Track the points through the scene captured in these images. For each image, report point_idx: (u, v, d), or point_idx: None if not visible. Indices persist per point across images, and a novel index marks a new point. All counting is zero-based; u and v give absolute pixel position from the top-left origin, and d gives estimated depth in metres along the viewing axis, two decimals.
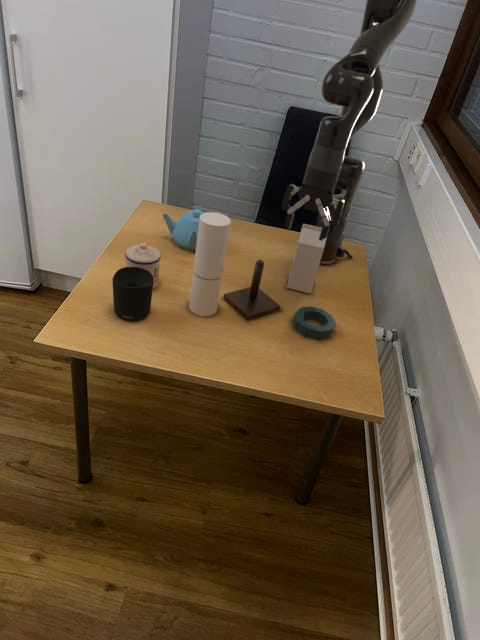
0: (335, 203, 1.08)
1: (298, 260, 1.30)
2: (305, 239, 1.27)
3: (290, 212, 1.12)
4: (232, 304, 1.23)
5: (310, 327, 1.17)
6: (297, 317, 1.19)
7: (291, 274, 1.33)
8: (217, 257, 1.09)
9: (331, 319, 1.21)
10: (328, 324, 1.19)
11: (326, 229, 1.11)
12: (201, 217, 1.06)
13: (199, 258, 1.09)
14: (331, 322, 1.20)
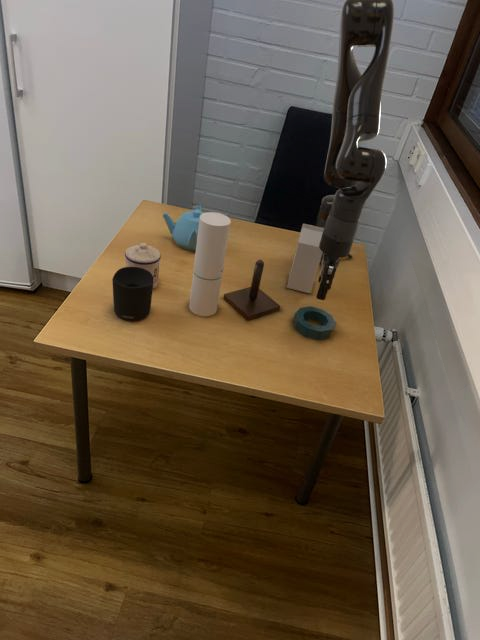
0: None
1: (298, 260, 1.30)
2: (305, 239, 1.27)
3: None
4: (232, 304, 1.23)
5: (310, 327, 1.17)
6: (297, 317, 1.19)
7: (291, 274, 1.33)
8: (217, 257, 1.09)
9: (331, 319, 1.21)
10: (328, 324, 1.19)
11: None
12: (201, 217, 1.06)
13: (199, 258, 1.09)
14: (331, 322, 1.20)
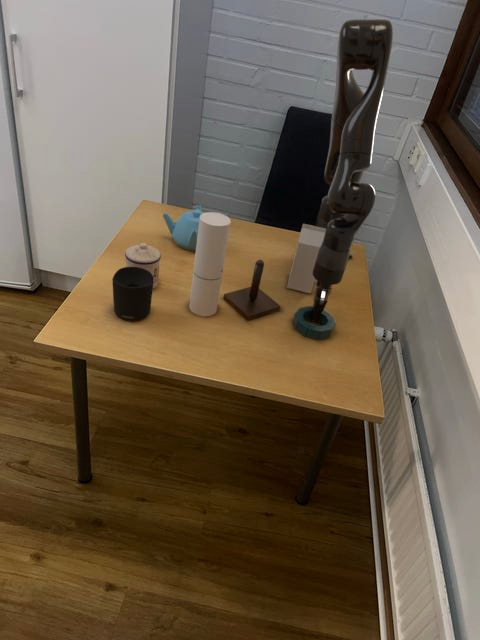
0: None
1: (298, 260, 1.30)
2: (305, 239, 1.27)
3: None
4: (232, 304, 1.23)
5: (310, 327, 1.17)
6: (297, 317, 1.19)
7: (291, 274, 1.33)
8: (217, 257, 1.09)
9: (331, 319, 1.21)
10: (328, 324, 1.19)
11: None
12: (201, 217, 1.06)
13: (199, 258, 1.09)
14: (331, 322, 1.20)
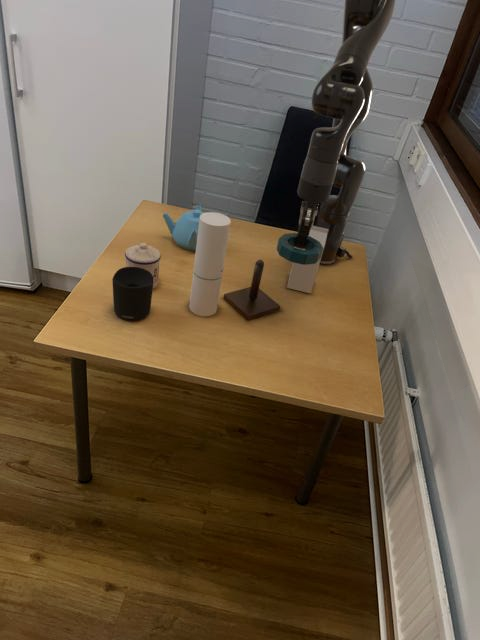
0: None
1: None
2: None
3: None
4: (232, 304, 1.23)
5: (295, 250, 1.08)
6: (281, 241, 1.10)
7: (291, 274, 1.33)
8: (217, 257, 1.09)
9: (318, 245, 1.12)
10: (315, 248, 1.10)
11: None
12: (201, 217, 1.06)
13: (199, 258, 1.09)
14: (318, 247, 1.11)
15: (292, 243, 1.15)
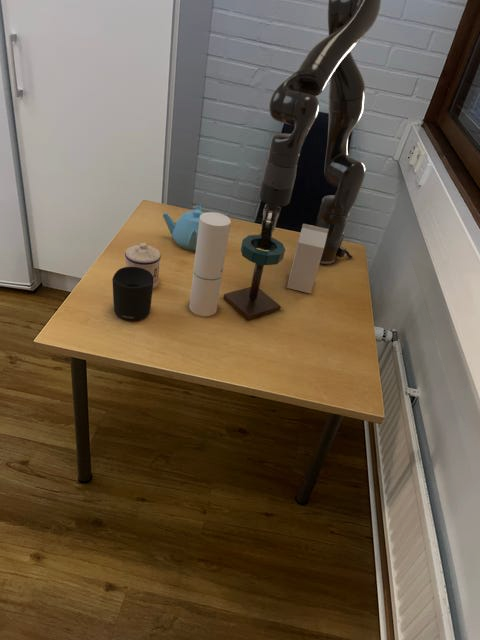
0: None
1: (298, 260, 1.30)
2: (305, 239, 1.27)
3: (271, 235, 1.16)
4: (232, 304, 1.23)
5: (256, 251, 1.12)
6: (244, 243, 1.14)
7: (291, 274, 1.33)
8: (217, 257, 1.09)
9: (280, 246, 1.16)
10: (276, 250, 1.14)
11: None
12: (201, 217, 1.06)
13: (199, 258, 1.09)
14: (280, 248, 1.15)
15: (256, 244, 1.19)
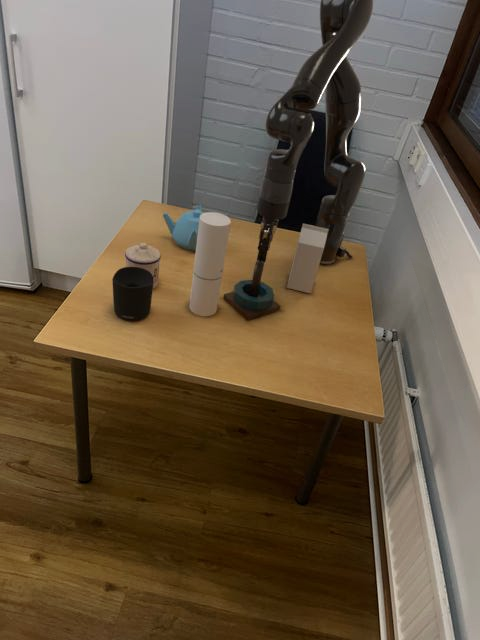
0: None
1: (298, 260, 1.30)
2: (305, 239, 1.27)
3: (268, 248, 1.17)
4: (232, 304, 1.23)
5: (247, 298, 1.20)
6: (236, 289, 1.23)
7: (291, 274, 1.33)
8: (217, 257, 1.09)
9: (270, 292, 1.24)
10: (266, 296, 1.22)
11: None
12: (201, 217, 1.06)
13: (199, 258, 1.09)
14: (269, 294, 1.23)
15: (248, 289, 1.27)
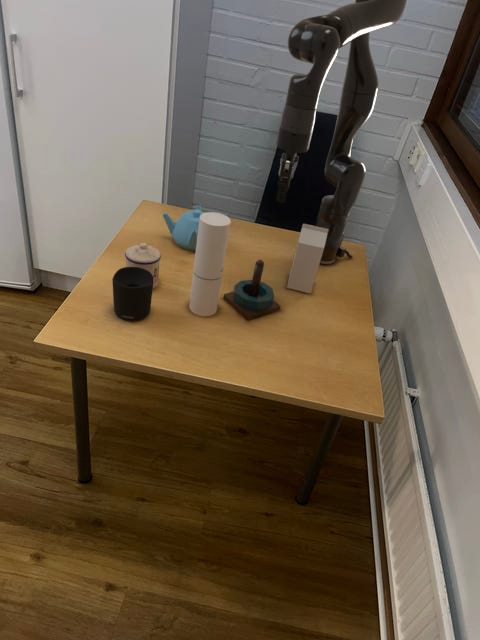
0: None
1: (298, 260, 1.30)
2: (305, 239, 1.27)
3: (288, 185, 1.09)
4: (232, 304, 1.23)
5: (247, 298, 1.20)
6: (236, 289, 1.23)
7: (291, 274, 1.33)
8: (217, 257, 1.09)
9: (270, 292, 1.24)
10: (266, 296, 1.22)
11: None
12: (201, 217, 1.06)
13: (199, 258, 1.09)
14: (269, 294, 1.23)
15: (248, 289, 1.27)
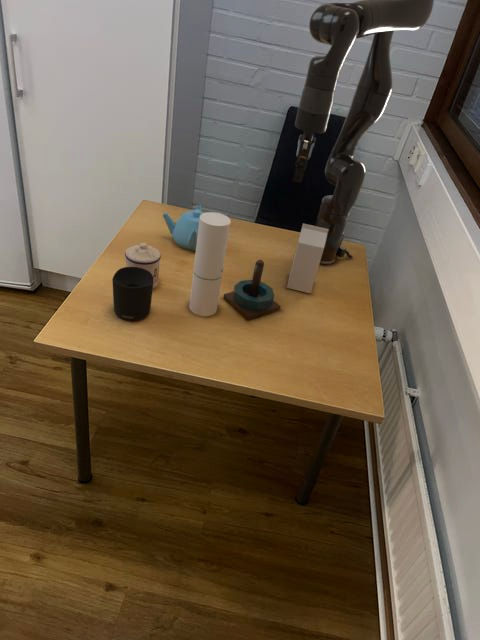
0: None
1: (298, 260, 1.30)
2: (305, 239, 1.27)
3: None
4: (232, 304, 1.23)
5: (247, 298, 1.20)
6: (236, 289, 1.23)
7: (291, 274, 1.33)
8: (217, 257, 1.09)
9: (270, 292, 1.24)
10: (266, 296, 1.22)
11: None
12: (201, 217, 1.06)
13: (199, 258, 1.09)
14: (269, 294, 1.23)
15: (248, 289, 1.27)
